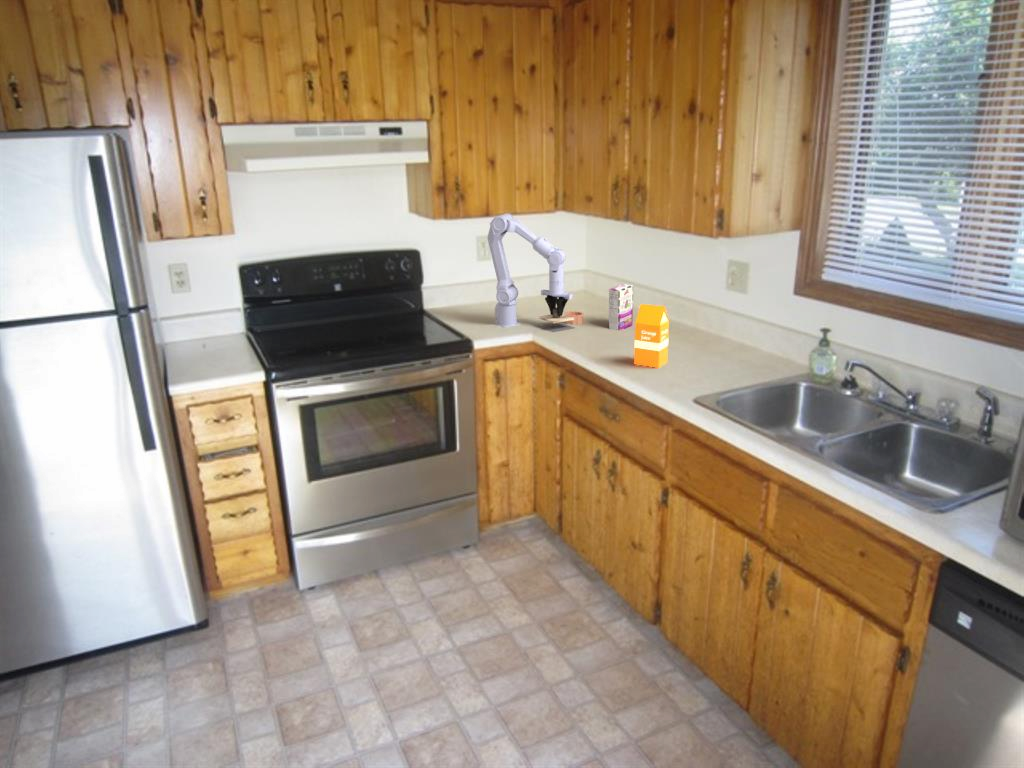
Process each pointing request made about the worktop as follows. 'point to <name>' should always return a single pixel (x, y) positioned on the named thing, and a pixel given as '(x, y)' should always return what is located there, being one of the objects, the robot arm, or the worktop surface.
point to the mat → (556, 327)
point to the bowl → (575, 317)
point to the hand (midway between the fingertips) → (556, 315)
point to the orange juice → (651, 336)
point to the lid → (556, 317)
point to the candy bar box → (620, 307)
